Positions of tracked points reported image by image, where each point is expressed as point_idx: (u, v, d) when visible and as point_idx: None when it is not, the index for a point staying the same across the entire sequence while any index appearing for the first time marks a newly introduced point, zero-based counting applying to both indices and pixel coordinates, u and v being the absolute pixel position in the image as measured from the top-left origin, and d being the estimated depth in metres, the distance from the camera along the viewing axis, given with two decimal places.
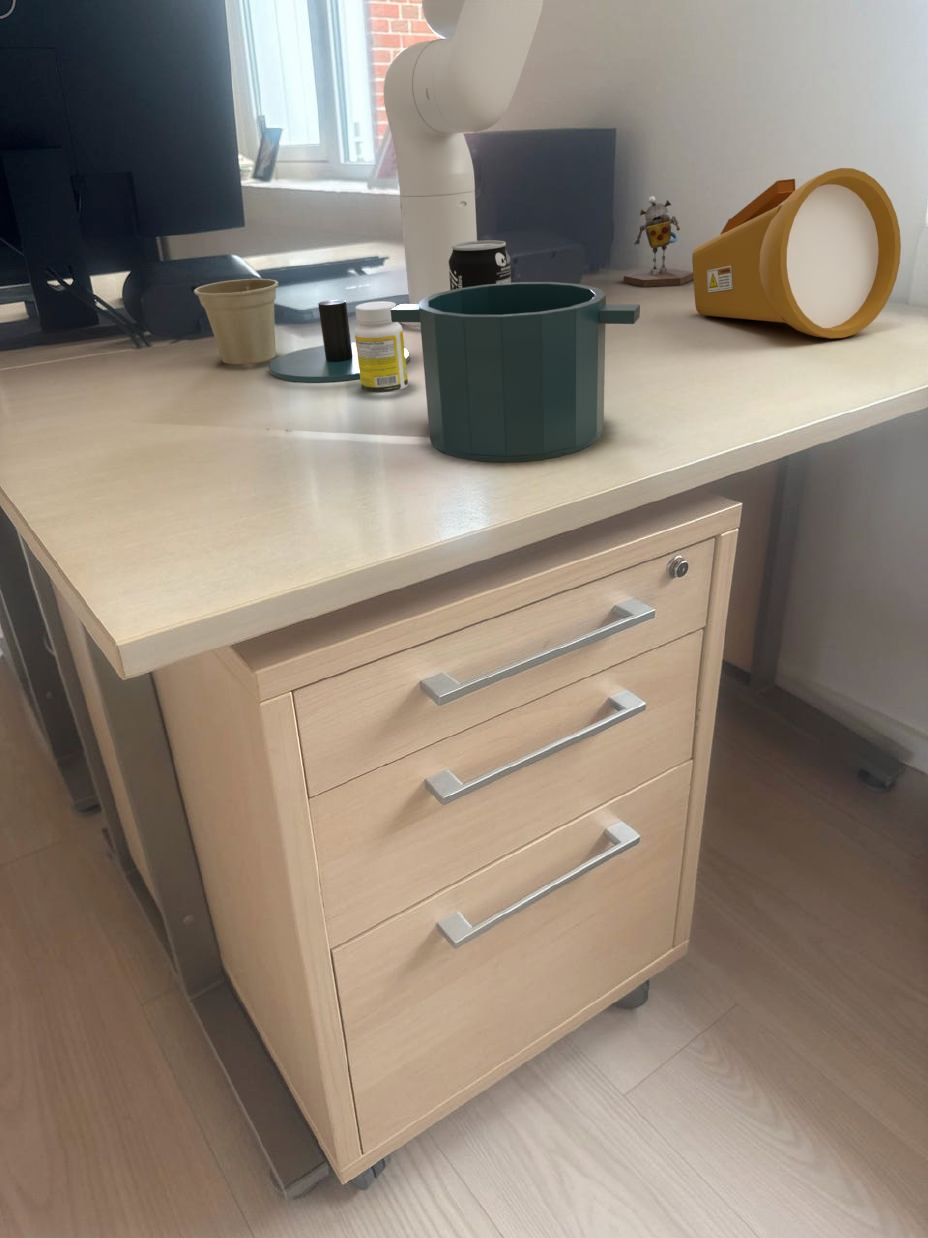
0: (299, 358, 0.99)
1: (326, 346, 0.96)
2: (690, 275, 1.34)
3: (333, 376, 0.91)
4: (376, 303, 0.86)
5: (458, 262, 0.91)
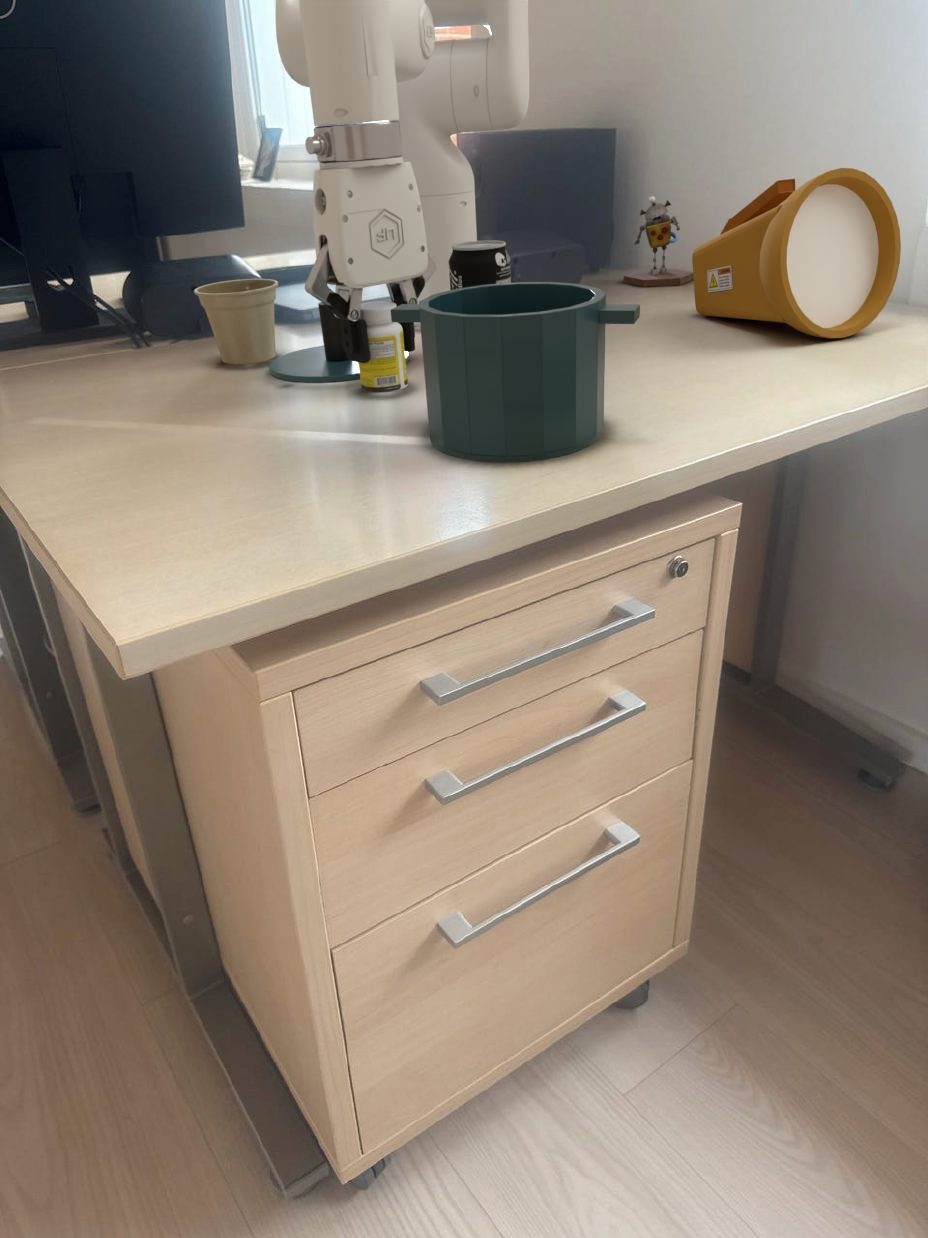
0: (299, 358, 0.99)
1: (326, 346, 0.96)
2: (690, 275, 1.34)
3: (333, 376, 0.91)
4: (376, 303, 0.86)
5: (458, 262, 0.91)
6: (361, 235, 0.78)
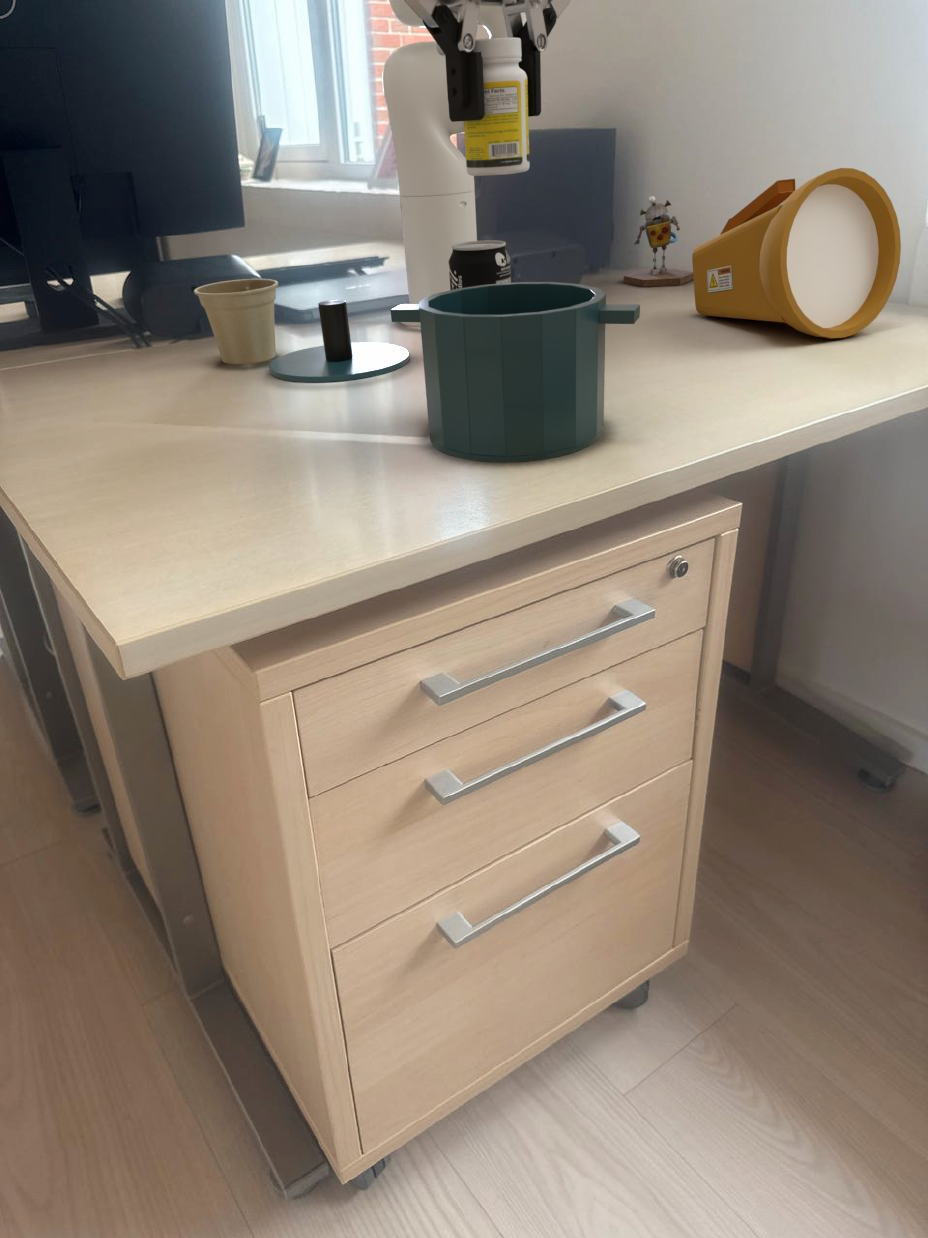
0: (299, 358, 0.99)
1: (326, 346, 0.96)
2: (690, 275, 1.34)
3: (333, 376, 0.91)
4: None
5: (458, 262, 0.91)
6: None
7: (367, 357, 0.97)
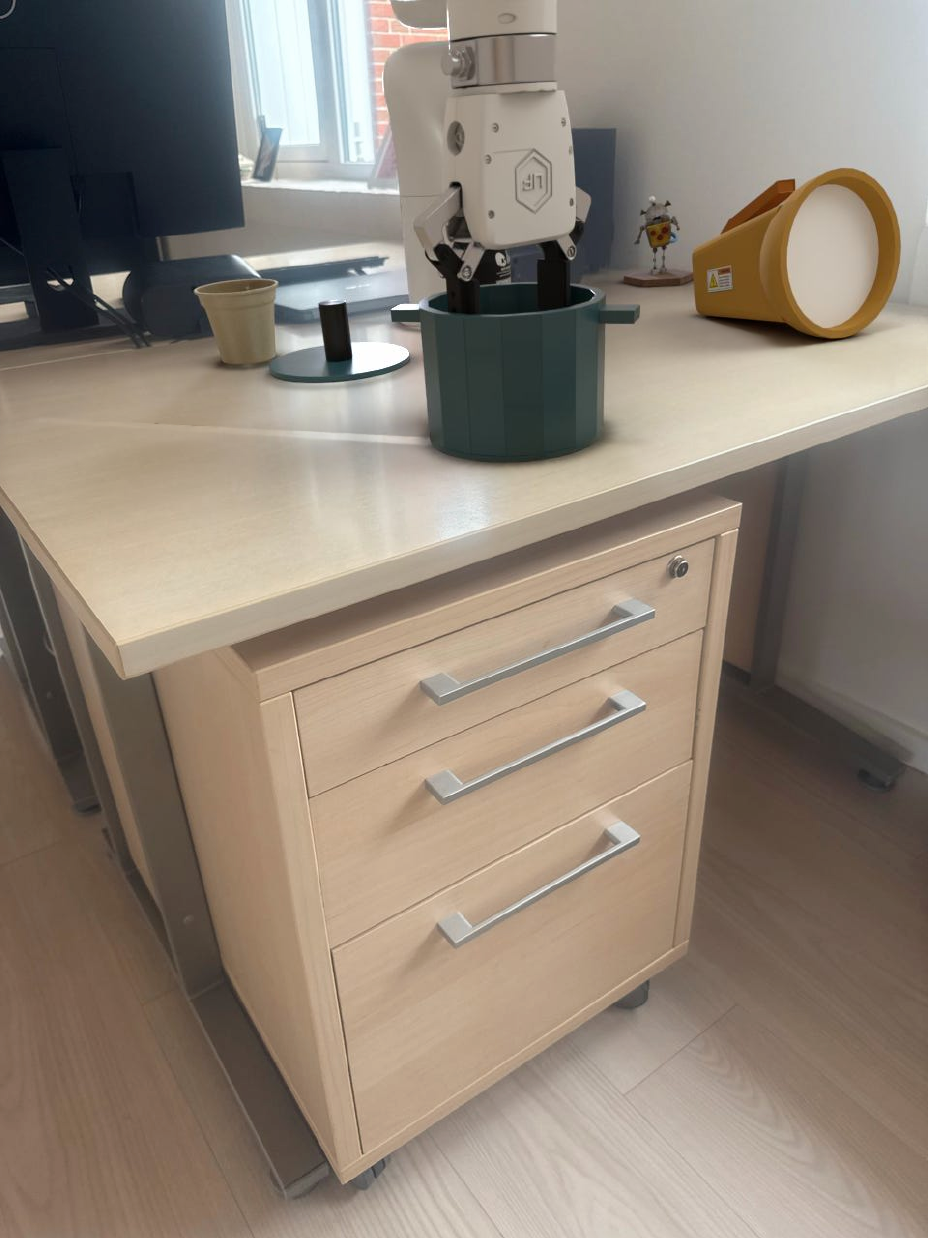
0: (299, 358, 0.99)
1: (326, 346, 0.96)
2: (690, 275, 1.34)
3: (333, 376, 0.91)
4: None
5: None
6: (505, 181, 0.62)
7: (367, 357, 0.97)
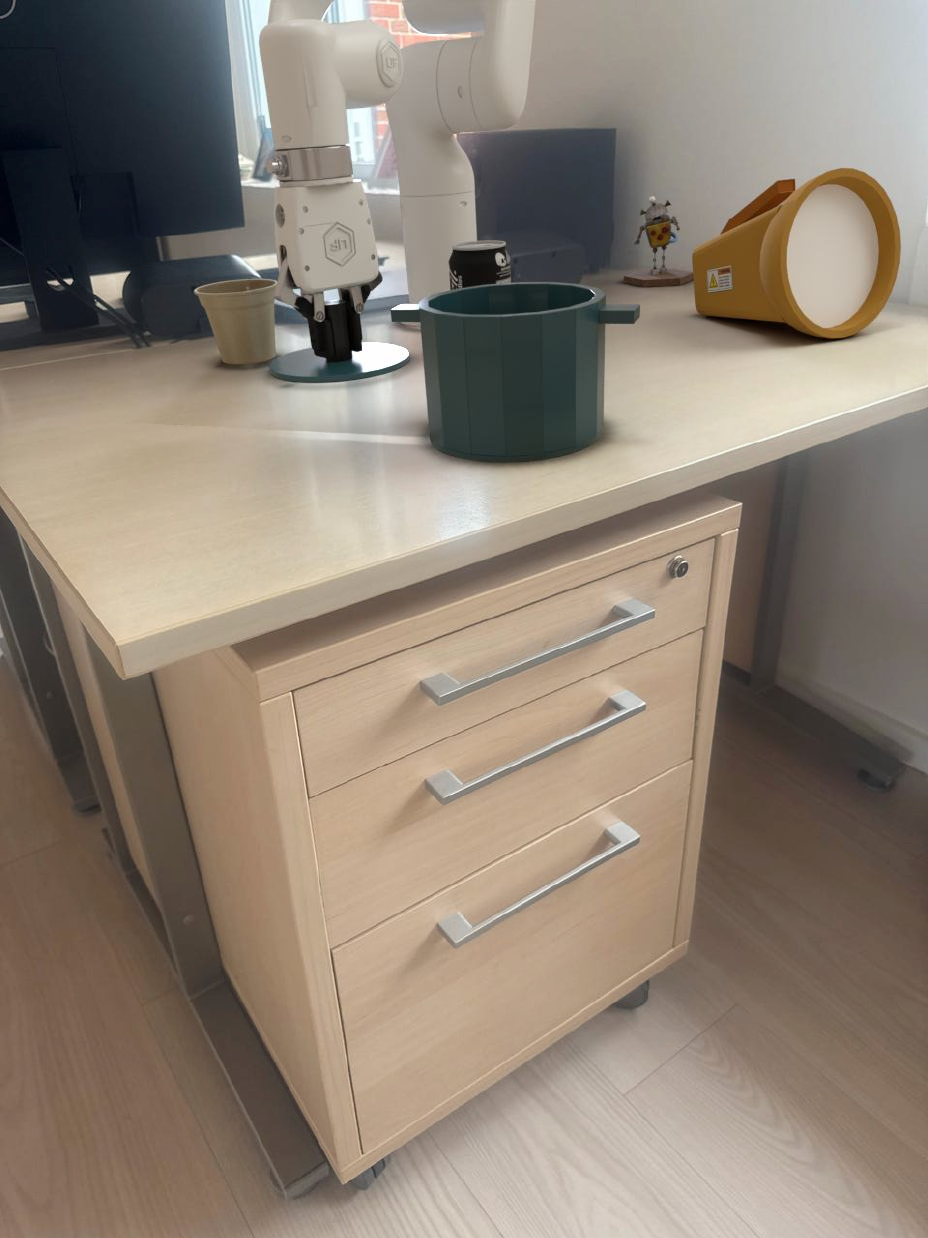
0: (299, 358, 0.99)
1: None
2: (690, 275, 1.34)
3: (333, 376, 0.91)
4: None
5: (458, 262, 0.91)
6: (316, 245, 0.88)
7: (367, 357, 0.97)
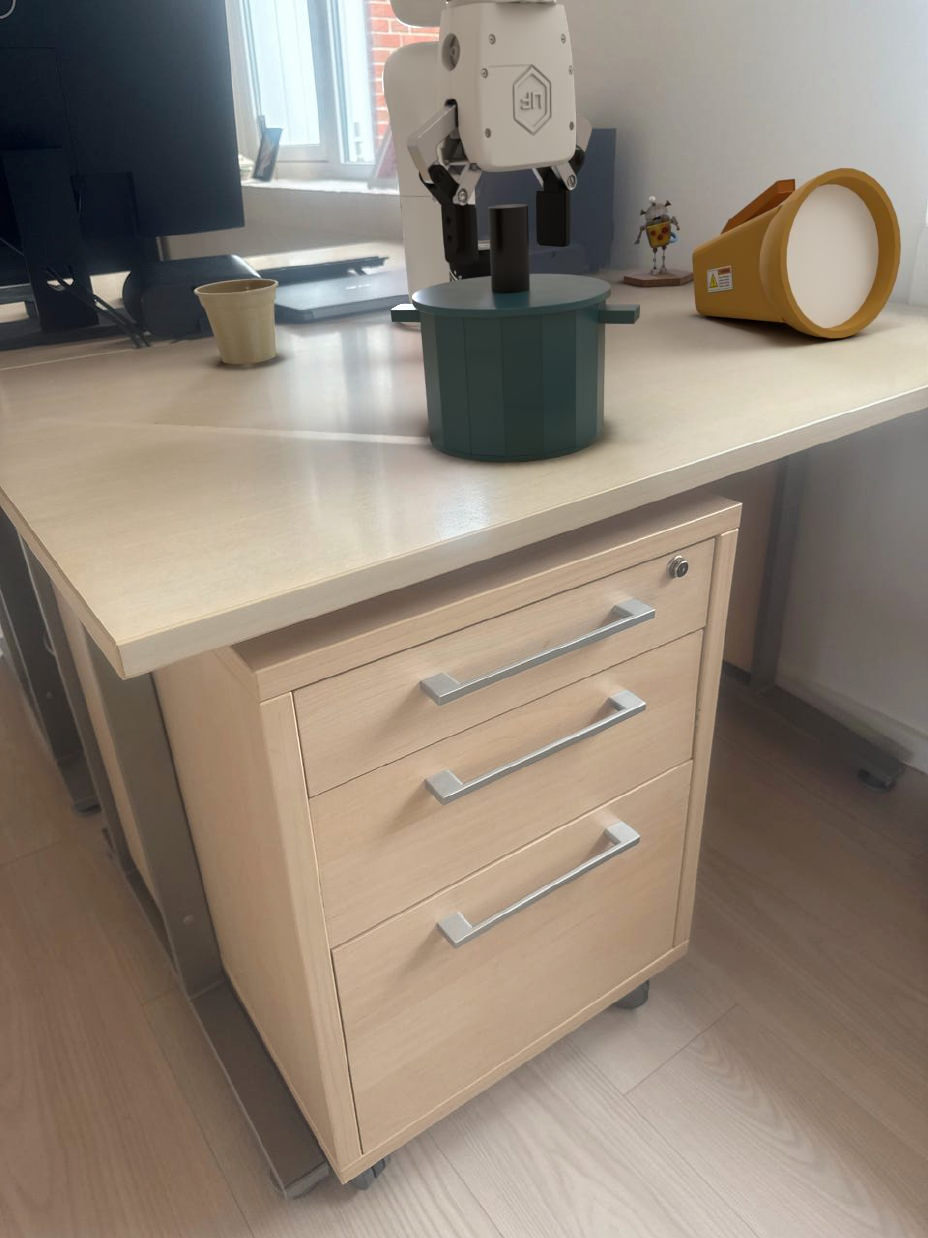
0: (451, 291, 0.70)
1: (496, 271, 0.67)
2: (690, 275, 1.34)
3: (520, 309, 0.62)
4: None
5: None
6: (503, 98, 0.59)
7: (551, 288, 0.69)
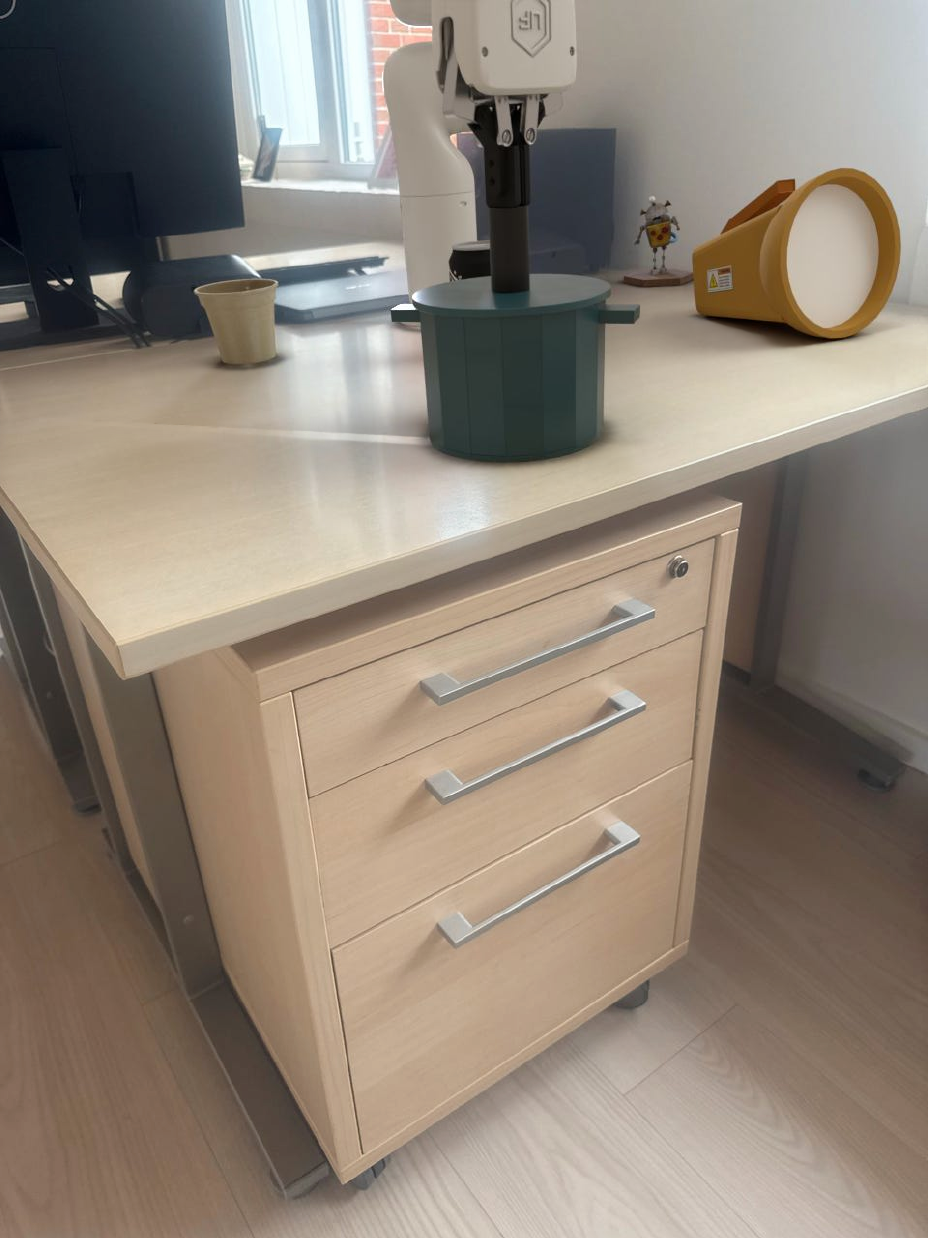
0: (451, 291, 0.70)
1: (496, 271, 0.67)
2: (690, 275, 1.34)
3: (520, 309, 0.62)
4: None
5: (458, 262, 0.91)
6: (500, 15, 0.57)
7: (551, 288, 0.69)
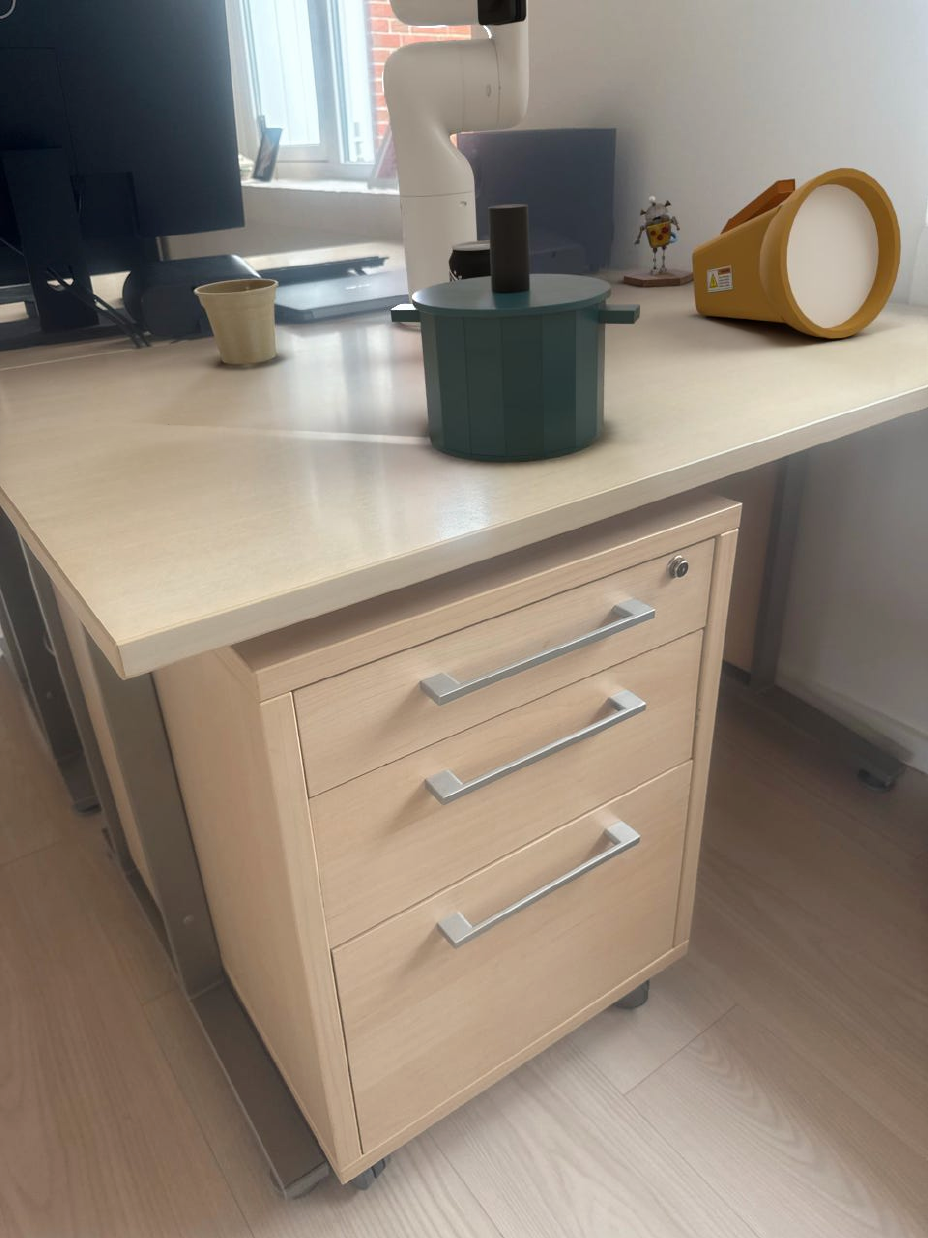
0: (451, 291, 0.70)
1: (496, 271, 0.67)
2: (690, 275, 1.34)
3: (520, 309, 0.62)
4: None
5: (458, 262, 0.91)
6: None
7: (551, 288, 0.69)
